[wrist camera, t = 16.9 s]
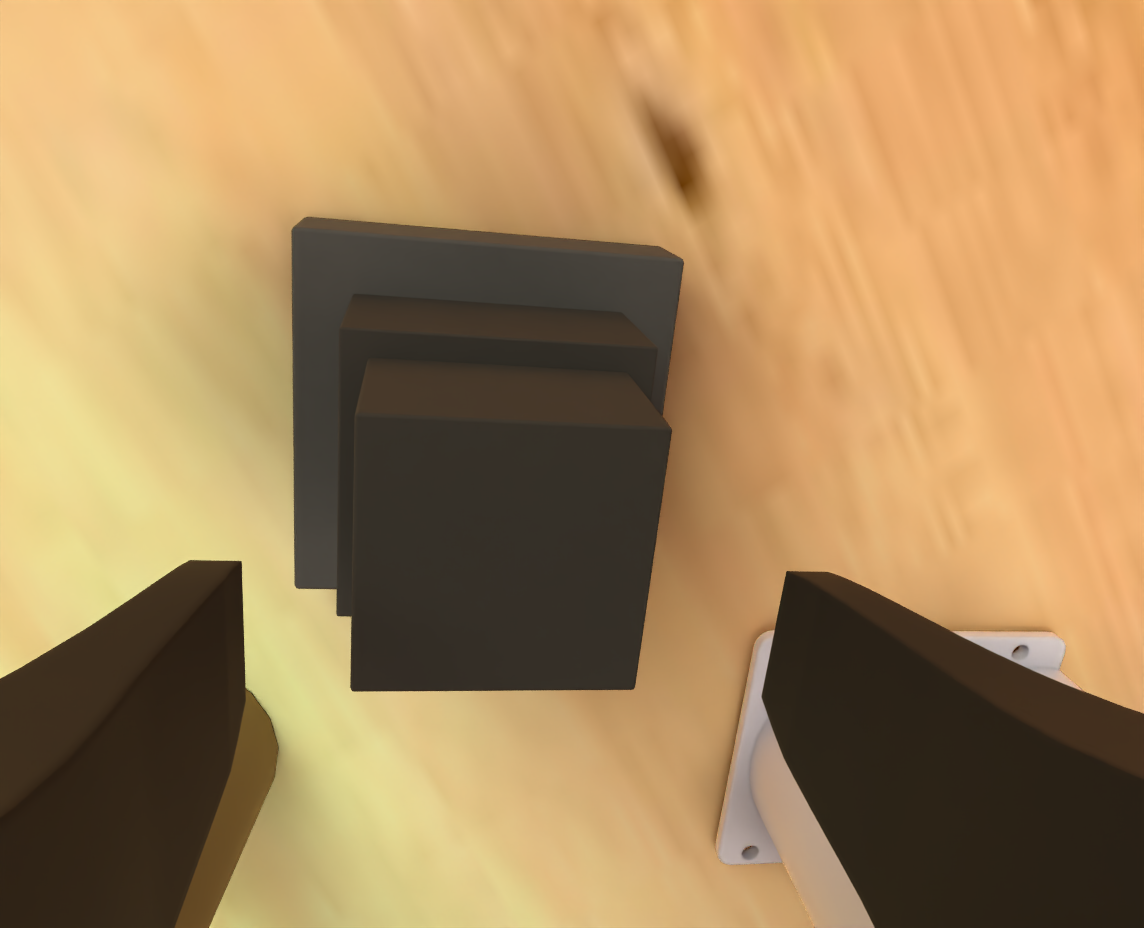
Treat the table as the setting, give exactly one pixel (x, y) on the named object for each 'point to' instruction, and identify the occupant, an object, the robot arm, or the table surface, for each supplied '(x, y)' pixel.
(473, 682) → the top pad
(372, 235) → the base pad
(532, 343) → the middle pad
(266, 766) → the olive game pawn
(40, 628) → the table surface
